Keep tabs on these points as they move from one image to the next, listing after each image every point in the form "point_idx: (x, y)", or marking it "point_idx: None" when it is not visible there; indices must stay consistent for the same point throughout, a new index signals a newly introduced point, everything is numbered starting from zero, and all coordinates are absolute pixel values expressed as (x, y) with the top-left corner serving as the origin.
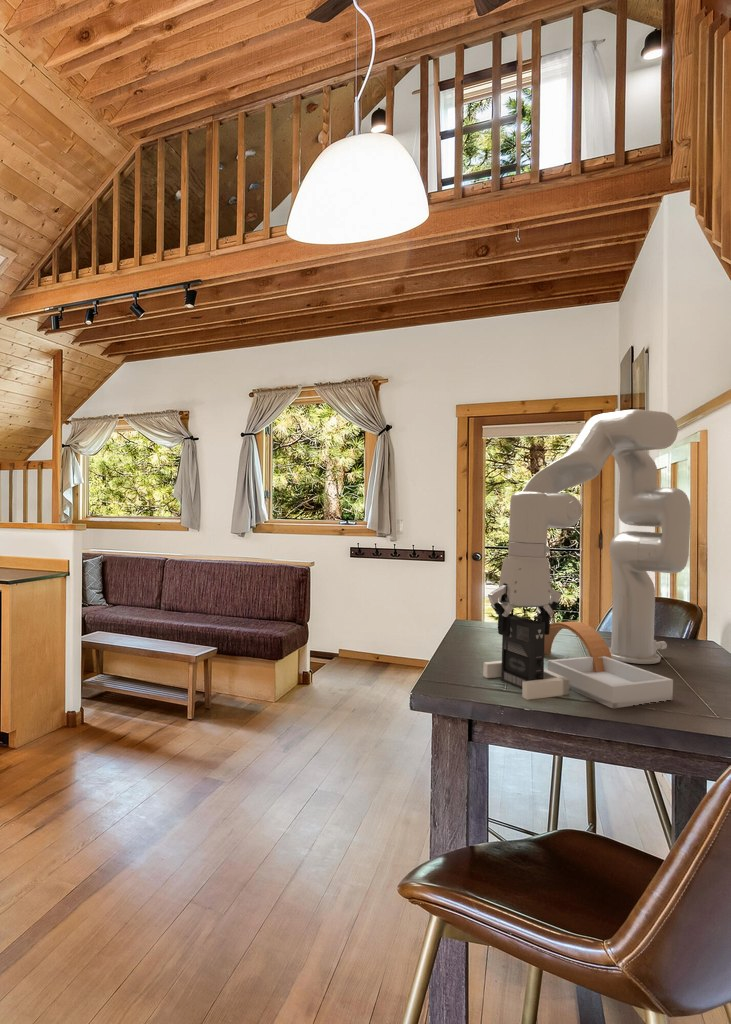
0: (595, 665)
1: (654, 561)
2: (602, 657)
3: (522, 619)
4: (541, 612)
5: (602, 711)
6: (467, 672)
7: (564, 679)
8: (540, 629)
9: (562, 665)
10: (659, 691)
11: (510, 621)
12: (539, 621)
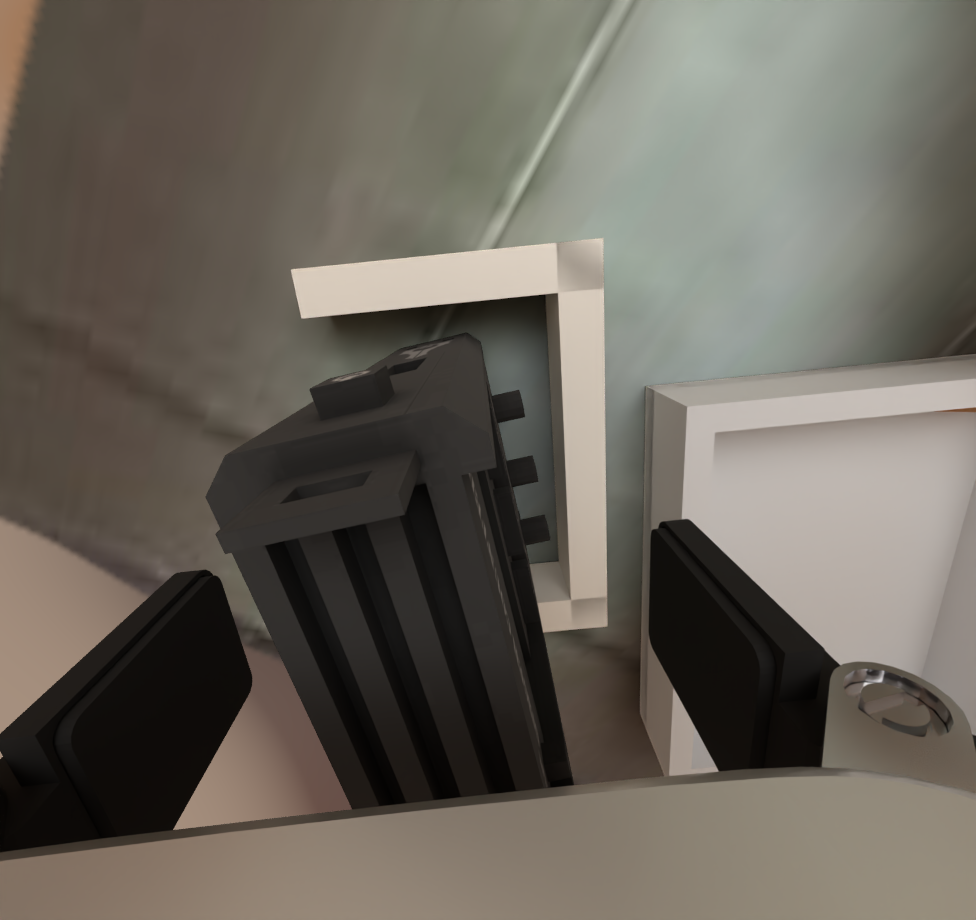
0: (972, 411)
1: None
2: None
3: (428, 693)
4: (792, 742)
5: (587, 723)
6: (250, 177)
7: (583, 624)
8: None
9: (692, 516)
10: None
11: (175, 822)
12: None
